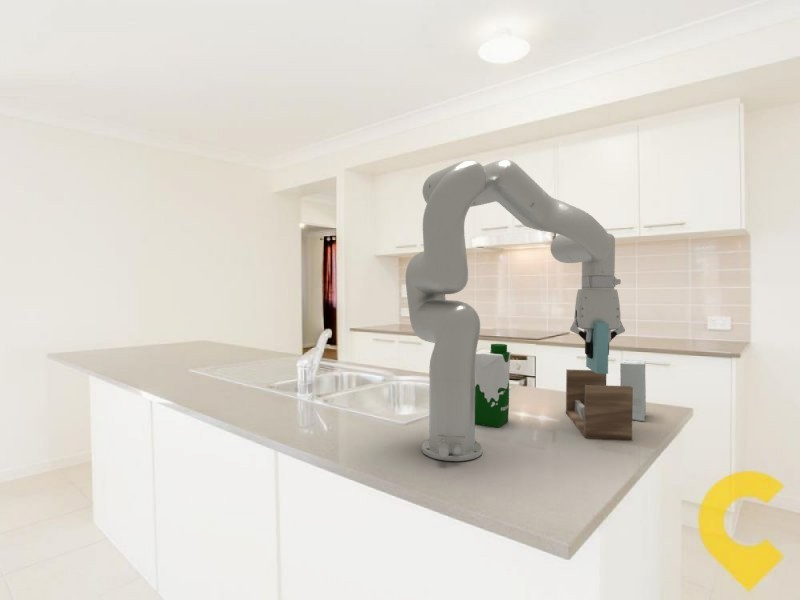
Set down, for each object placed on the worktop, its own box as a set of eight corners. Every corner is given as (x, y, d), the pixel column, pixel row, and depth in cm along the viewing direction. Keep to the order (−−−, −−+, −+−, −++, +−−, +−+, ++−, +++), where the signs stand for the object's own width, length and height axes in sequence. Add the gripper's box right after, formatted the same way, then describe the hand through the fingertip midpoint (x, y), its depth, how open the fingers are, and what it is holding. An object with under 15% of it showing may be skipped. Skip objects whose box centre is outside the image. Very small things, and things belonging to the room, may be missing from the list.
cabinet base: (631, 440, 108) (632, 387, 108) (585, 438, 109) (586, 386, 109) (604, 414, 130) (604, 370, 129) (565, 413, 131) (566, 369, 131)
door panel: (607, 373, 114) (608, 323, 114) (596, 373, 114) (597, 323, 114) (596, 366, 124) (597, 320, 124) (586, 366, 124) (586, 320, 124)
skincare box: (644, 422, 123) (646, 364, 122) (619, 418, 126) (620, 362, 125) (645, 414, 130) (646, 359, 130) (621, 411, 133) (622, 358, 132)
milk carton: (501, 429, 116) (502, 347, 115) (466, 423, 121) (467, 344, 120) (512, 420, 124) (513, 343, 123) (479, 415, 128) (480, 341, 128)
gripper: (627, 283, 121) (626, 356, 122) (560, 283, 123) (560, 355, 124) (637, 283, 114) (636, 361, 114) (567, 283, 116) (566, 359, 116)
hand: (596, 357), depth 119 cm, fingers closed on door panel, 2 cm apart
